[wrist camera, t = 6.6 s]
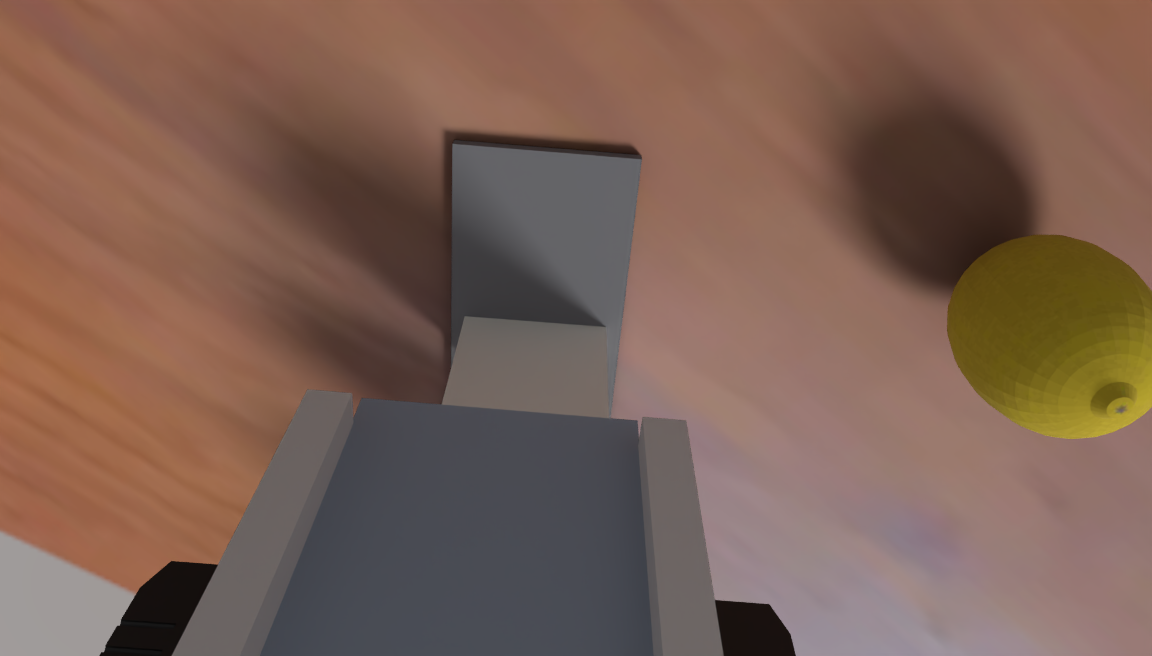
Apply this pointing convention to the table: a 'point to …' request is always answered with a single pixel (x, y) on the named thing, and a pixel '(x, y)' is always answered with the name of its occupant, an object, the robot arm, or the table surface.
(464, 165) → the strip
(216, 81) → the table surface
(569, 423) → the blue-grey tile
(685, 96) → the table surface
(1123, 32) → the table surface
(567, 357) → the tile
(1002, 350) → the lemon
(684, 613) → the robot arm
